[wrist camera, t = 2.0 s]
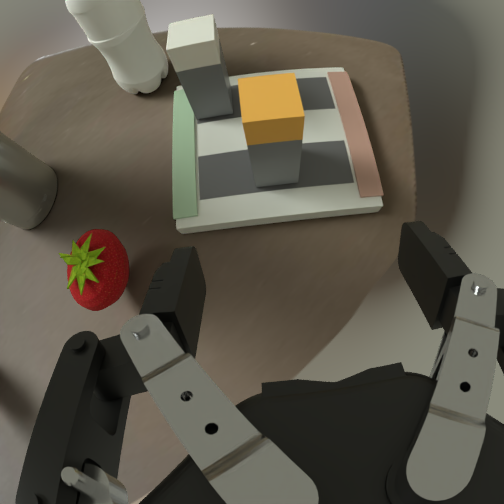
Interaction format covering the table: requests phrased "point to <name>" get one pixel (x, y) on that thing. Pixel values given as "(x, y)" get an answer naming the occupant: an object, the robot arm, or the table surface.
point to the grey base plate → (236, 151)
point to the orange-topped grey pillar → (272, 127)
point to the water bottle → (123, 41)
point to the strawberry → (97, 269)
